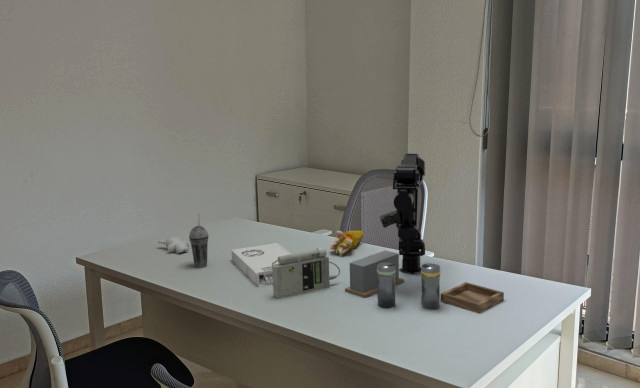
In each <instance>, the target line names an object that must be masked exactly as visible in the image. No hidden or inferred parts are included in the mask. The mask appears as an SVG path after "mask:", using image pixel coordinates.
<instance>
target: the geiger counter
mask: <svg viewBox="0 0 640 388" xmlns="http://www.w3.org/2000/svg"><path fill="white" fill-rule="evenodd" d="M327 254H328V253H327V248H326V247H325V246H323V247H319V248H316V249H312V250H306V251H302V252H296V253H295V252H294V253H291V254H290V255H284V256H279V257H278V260H276V261H275V262H273V263H272V271H273V284H272V287H273V288H272V289H273V297H274V298H276V299H281V298H288V297H291V296H297V295H300V294H301V295H302V294H306V293H311V292H314V291H319V290H323V289H329V288H330V287H331V286H330V284H331V283H330V281H332V280H334V279H337V278H338V276H340V274H341V270H340V267H339V266H338V264H336V263H334V262H332V261H330V257H329V256H328V255H327ZM277 261H278V262H279V264H274V263H276V262H277ZM330 264H332V265H334V266H335V267H336V268H337V270H338V274H337V275H336V274H335V275H330Z"/></svg>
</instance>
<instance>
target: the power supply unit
mask: <svg viewBox="0 0 640 388" xmlns="http://www.w3.org/2000/svg"><path fill="white" fill-rule="evenodd" d="M290 254H292V253H291V252H290V251H289V250H287V249H286V248H285V247H283V246H282V245H280V244H279V243H277V242H275V243H270V244H269V243H268V244H262V245H261V244H260V245H256V246H248V247H242V248H235V249H231V262H232V263H233V264H234V265H236V266H237V268H238V269H240V270H241V271H242V272H243V273H244V275H246V276H247V278H249V279H250V280H251V281H252V282H253V283H254V284H255V285H256V286H257V287H258V288H261V287H264V286H265V287H266V286H269V285H273V271H272V263H273V262H275V261H276V260H278V257H279V256H284V255H290ZM274 264H279V262H278V261H277V262H276V263H274Z"/></svg>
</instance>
